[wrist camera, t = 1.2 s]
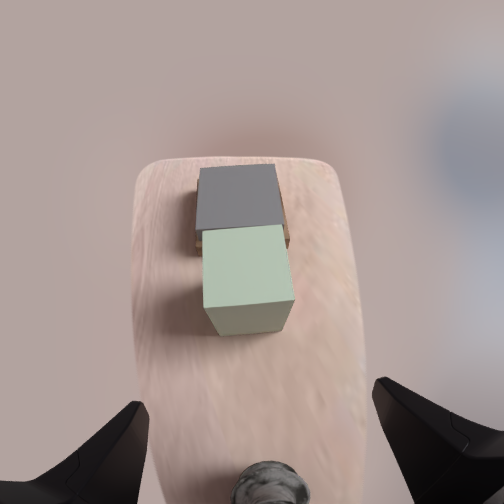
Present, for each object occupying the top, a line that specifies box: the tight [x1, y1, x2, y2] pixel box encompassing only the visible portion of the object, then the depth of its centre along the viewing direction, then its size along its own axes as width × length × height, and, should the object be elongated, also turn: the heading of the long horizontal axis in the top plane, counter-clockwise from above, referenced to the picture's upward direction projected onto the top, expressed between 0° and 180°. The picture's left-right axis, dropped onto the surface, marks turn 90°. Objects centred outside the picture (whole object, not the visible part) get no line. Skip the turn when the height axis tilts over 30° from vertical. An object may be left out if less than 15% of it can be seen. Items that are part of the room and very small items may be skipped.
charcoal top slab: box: [195, 164, 284, 241], centre depth 27 cm, size 8×8×2 cm
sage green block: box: [202, 224, 295, 336], centre depth 21 cm, size 6×6×8 cm
